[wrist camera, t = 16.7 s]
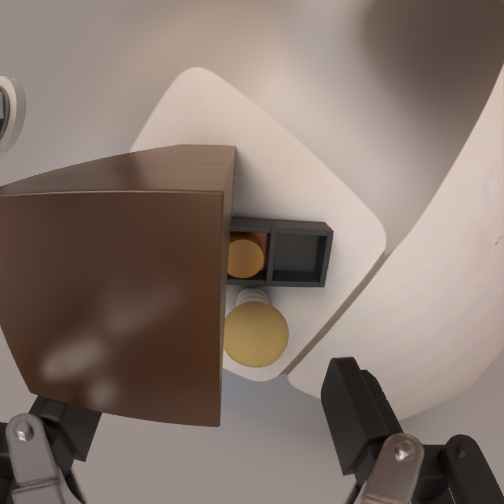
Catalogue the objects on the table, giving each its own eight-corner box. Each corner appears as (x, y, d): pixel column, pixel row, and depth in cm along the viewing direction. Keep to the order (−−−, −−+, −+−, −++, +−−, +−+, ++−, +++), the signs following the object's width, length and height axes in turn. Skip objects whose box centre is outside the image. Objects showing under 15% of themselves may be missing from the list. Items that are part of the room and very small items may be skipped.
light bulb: (216, 312, 35) (211, 370, 26) (234, 266, 33) (234, 317, 24) (266, 327, 36) (275, 385, 27) (287, 283, 34) (305, 336, 25)
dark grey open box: (212, 270, 33) (210, 283, 30) (213, 215, 31) (211, 224, 28) (317, 274, 34) (324, 287, 31) (325, 222, 32) (333, 231, 29)
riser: (179, 198, 30) (30, 393, 6) (180, 144, 28) (-31, 197, 4) (232, 200, 31) (219, 428, 6) (235, 146, 29) (224, 191, 4)
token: (222, 265, 32) (221, 277, 29) (223, 228, 31) (222, 238, 28) (259, 266, 33) (262, 279, 30) (263, 230, 31) (265, 240, 28)
